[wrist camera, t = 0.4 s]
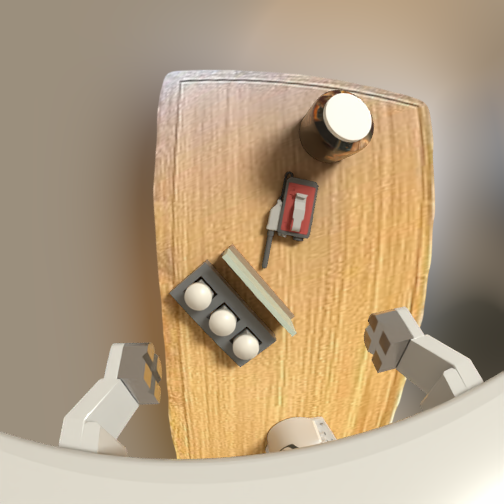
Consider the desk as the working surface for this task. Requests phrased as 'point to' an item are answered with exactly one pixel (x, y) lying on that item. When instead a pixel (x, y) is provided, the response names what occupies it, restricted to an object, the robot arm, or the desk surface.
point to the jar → (336, 126)
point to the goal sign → (259, 287)
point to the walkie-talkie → (292, 212)
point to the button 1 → (198, 295)
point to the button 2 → (245, 345)
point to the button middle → (222, 321)
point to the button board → (222, 295)
